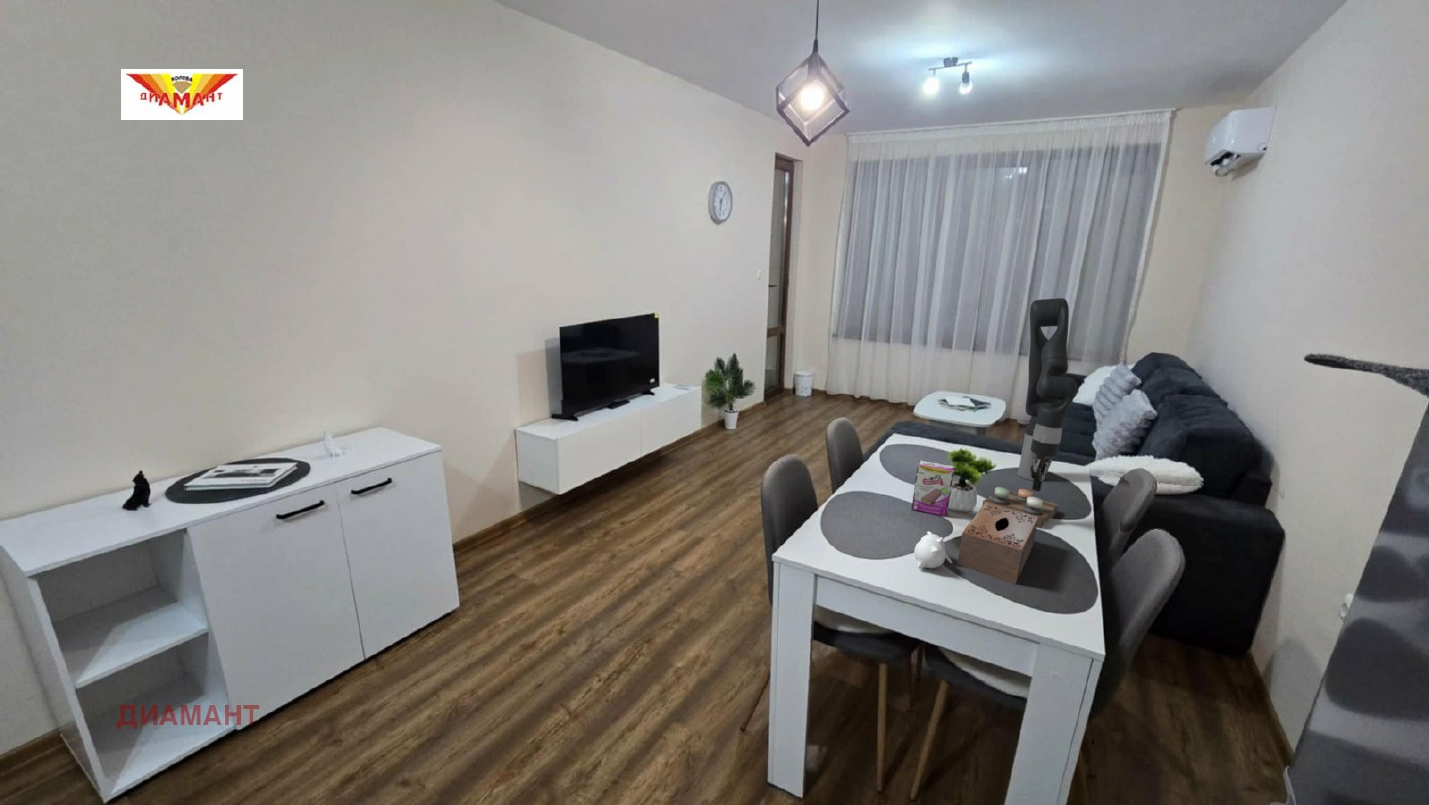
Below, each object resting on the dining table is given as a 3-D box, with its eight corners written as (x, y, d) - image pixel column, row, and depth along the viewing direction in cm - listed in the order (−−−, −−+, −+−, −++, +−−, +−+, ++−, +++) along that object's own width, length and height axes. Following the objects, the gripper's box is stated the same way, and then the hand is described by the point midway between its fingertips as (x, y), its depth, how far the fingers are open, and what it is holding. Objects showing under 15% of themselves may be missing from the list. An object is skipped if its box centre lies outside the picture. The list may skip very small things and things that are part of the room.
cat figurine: (932, 521, 157) (927, 538, 147) (963, 548, 155) (960, 567, 144) (911, 541, 161) (905, 559, 150) (941, 568, 159) (937, 588, 148)
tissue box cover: (1015, 585, 145) (1021, 550, 143) (957, 565, 154) (962, 532, 151) (1032, 547, 165) (1038, 516, 162) (980, 532, 173) (985, 502, 171)
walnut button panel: (1000, 495, 200) (1002, 485, 199) (1056, 512, 188) (1058, 502, 187) (981, 509, 189) (983, 498, 188) (1040, 528, 176) (1042, 516, 175)
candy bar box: (910, 510, 186) (917, 464, 182) (912, 505, 190) (918, 459, 186) (947, 518, 181) (954, 470, 177) (947, 512, 186) (954, 465, 182)
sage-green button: (997, 491, 191) (998, 486, 190) (1010, 495, 188) (1011, 490, 187) (992, 494, 188) (993, 489, 187) (1006, 499, 185) (1007, 493, 184)
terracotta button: (1020, 493, 193) (1021, 487, 193) (1034, 497, 190) (1035, 491, 190) (1015, 496, 190) (1016, 491, 190) (1029, 500, 187) (1030, 495, 187)
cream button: (1028, 501, 184) (1030, 495, 183) (1043, 505, 181) (1044, 499, 180) (1024, 504, 181) (1025, 499, 180) (1039, 509, 178) (1040, 503, 177)
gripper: (1040, 432, 182) (1030, 481, 187) (1026, 439, 173) (1016, 491, 178) (1066, 438, 177) (1055, 488, 182) (1053, 446, 168) (1042, 499, 173)
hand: (1036, 490), depth 180 cm, fingers closed
